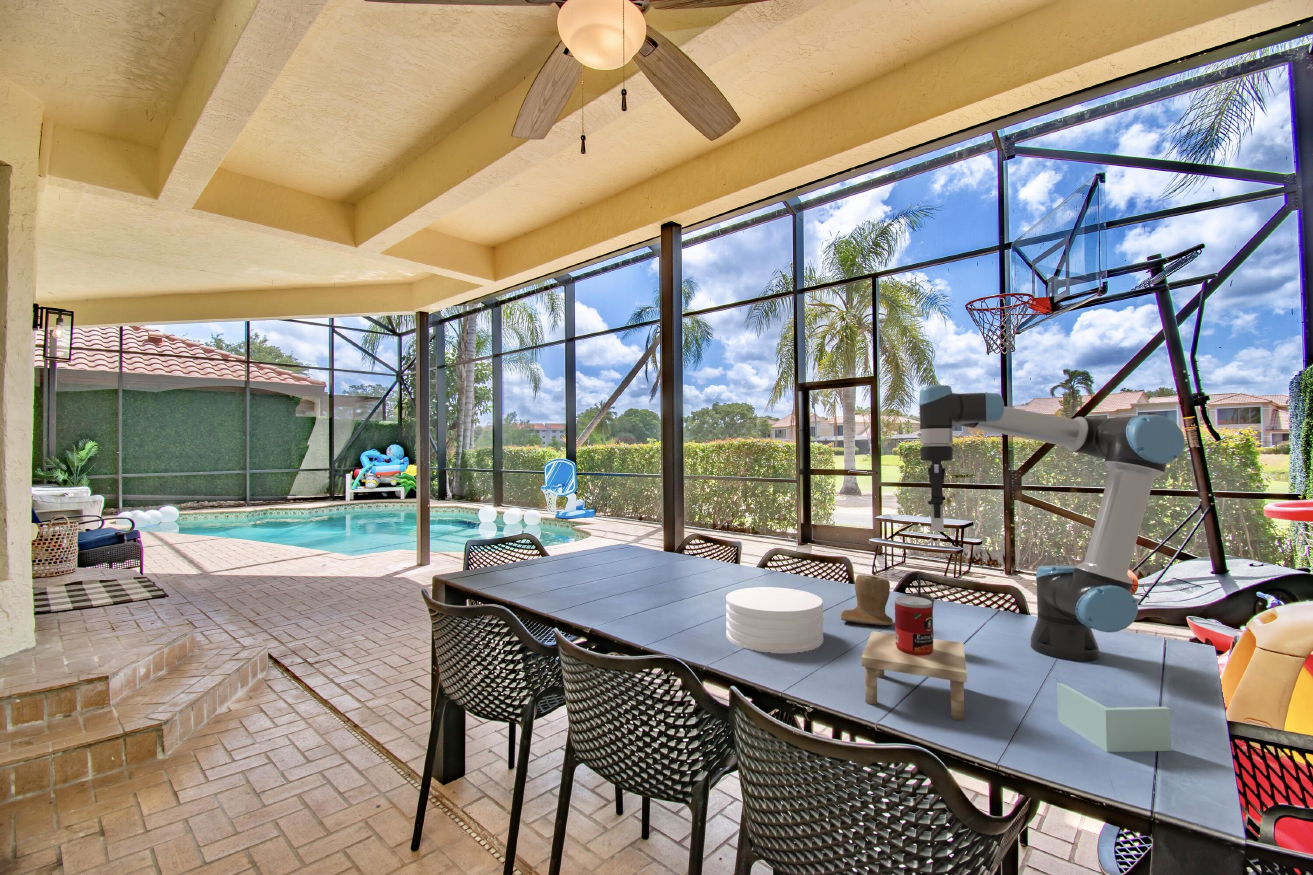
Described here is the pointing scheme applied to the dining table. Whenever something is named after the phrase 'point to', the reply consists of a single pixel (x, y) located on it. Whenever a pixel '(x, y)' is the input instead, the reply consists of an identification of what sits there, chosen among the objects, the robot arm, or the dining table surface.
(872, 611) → the brown suede boots
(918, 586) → the drinking cup
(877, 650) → the footstool
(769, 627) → the plate stack
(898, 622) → the canned food
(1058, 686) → the right angle wall
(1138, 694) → the dining table surface
